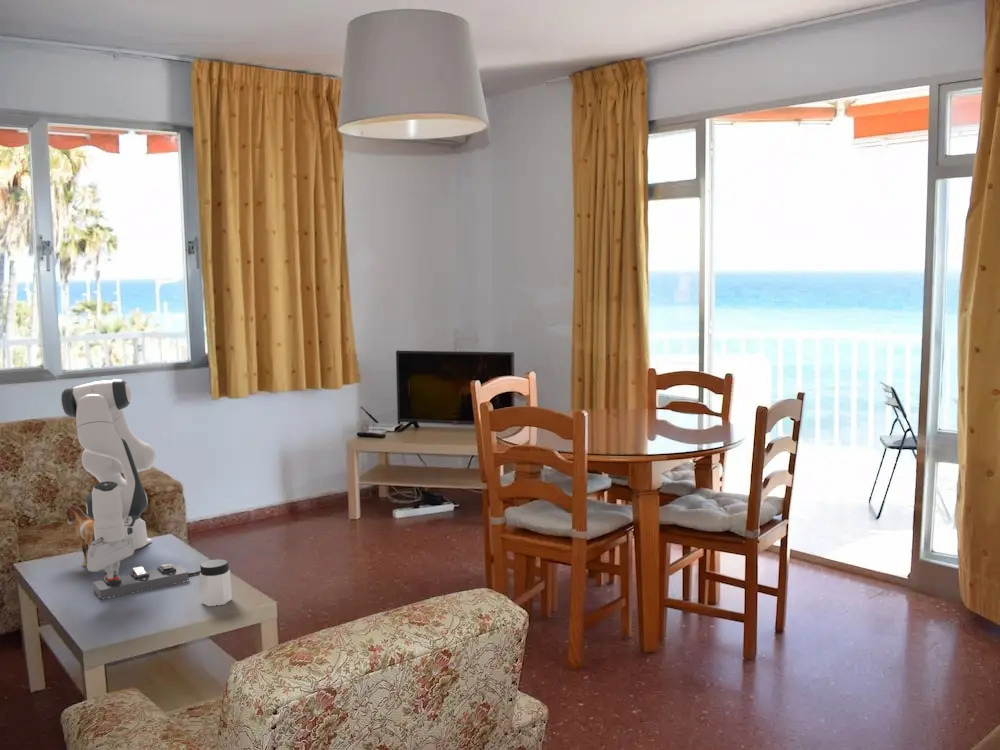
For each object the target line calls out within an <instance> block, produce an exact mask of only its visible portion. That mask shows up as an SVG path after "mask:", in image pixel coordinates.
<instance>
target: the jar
mask: <svg viewBox="0 0 1000 750" xmlns="http://www.w3.org/2000/svg"><path fill="white" fill-rule="evenodd" d="M199 566H200V567H199V568H200V571H201V573H200V574H198V577H199V588H200V590H199V592H200V602H201V604H202V605H204V604H205V606H207V607H209V606H210V607H215V606H216V605H218V606H225V605H226V604H227V603H229V602H230V601H232V600H233V596H232V578H231V569H229V568H230V567H229V561H228V560H226V559H221V558H220V559H218V558H217V559H211V560H210V559H209V560H205V561H203V562H202V563H200V565H199Z"/></svg>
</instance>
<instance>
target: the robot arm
mask: <svg viewBox="0 0 1000 750" xmlns="http://www.w3.org/2000/svg"><path fill="white" fill-rule="evenodd" d="M131 398H132V391H131V389H130V387H129V385H128V383H127V382H126V381H125V380H124V379H117V378H115V379H114V378H113V379H112V380H99V381H92V382H89V383H83V384H79V385H76V386H75V385H74V386H70V387H67V388H65V389H64V390H63V391H62V392H61V397H60V405H61V408H62V410H63V412H64V414H65V415H66V416H67V417H70V418H71V417H72V418H75V420H76V421H75V424H76V433H77V438H78V442H79V445H80V446H81V447H82V448H83V449H84V450H83V452H82V455H81V465H82V467H83V468H84V470H85V471H86V472H88V473H90V474H91V475H92V476H93V477H95V478H96V480H97V483H96V484H95V485H93V486H92V490H91V491H90V492H89V493H88V494H87V496H86V497H85V498H84V501H85V507H86V508H85V509H86V511H85V512H86V513H85V515H86V516H88V517H89V518H90V519H91V520H94V521H95V522H94V537H95V541H93V542H92V543H91V545H90V547H89V549H88V554H87V561H86V567H87V568H86V569H87V570H88V571H89V572H90V571H92V572H91V573H93V572H101V571H102V570H104V572H105V571H106V573H105V574H106V575H107V578H108V579H112V578H114V577H116V576H118V577H119V570H120V569H119V568H120V565H121V561H122V560H125V559H127V558H129V557H131V556H133V555H134V553H135V550H138V549H141V548H144V547H146V545H148V544H152V542H153V540H152V538H149V537H148V533H147V524H146V521H145V520H143V519H142V518H141V515H142V514H143V513H144V512H145V511H146V509H147V508H148V496H147V493H146V491H145V489H144V486H143V484H142V482H141V478H140V475H139V473H140V472H144V471H147V470H150V469H151V468H152V467H153V465H154V463H155V461H156V453H155V449H154V448H153V447H152V445H151V444H150V443H147V442H146V441H145V442H144V441H143V440H142V439H140V438H138V437H137V436H136V435H135V434H134V433H133V432H132V431H131V429H130V428H129V426H128V424H127V421H126V419H125V415H124V412H123V409H125V408H127V407H128V406H129V405H130V403H131ZM122 474H123V475H122Z"/></svg>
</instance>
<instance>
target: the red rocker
mask: <svg viewBox="0 0 1000 750" xmlns="http://www.w3.org/2000/svg"><path fill="white" fill-rule="evenodd" d="M104 577H106V579H107V580H108V581H113V580H117V579H118V577H119V575H118V576H116V577H114V578H112V579H108V578H107V574H106V575H105V576H104Z"/></svg>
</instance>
